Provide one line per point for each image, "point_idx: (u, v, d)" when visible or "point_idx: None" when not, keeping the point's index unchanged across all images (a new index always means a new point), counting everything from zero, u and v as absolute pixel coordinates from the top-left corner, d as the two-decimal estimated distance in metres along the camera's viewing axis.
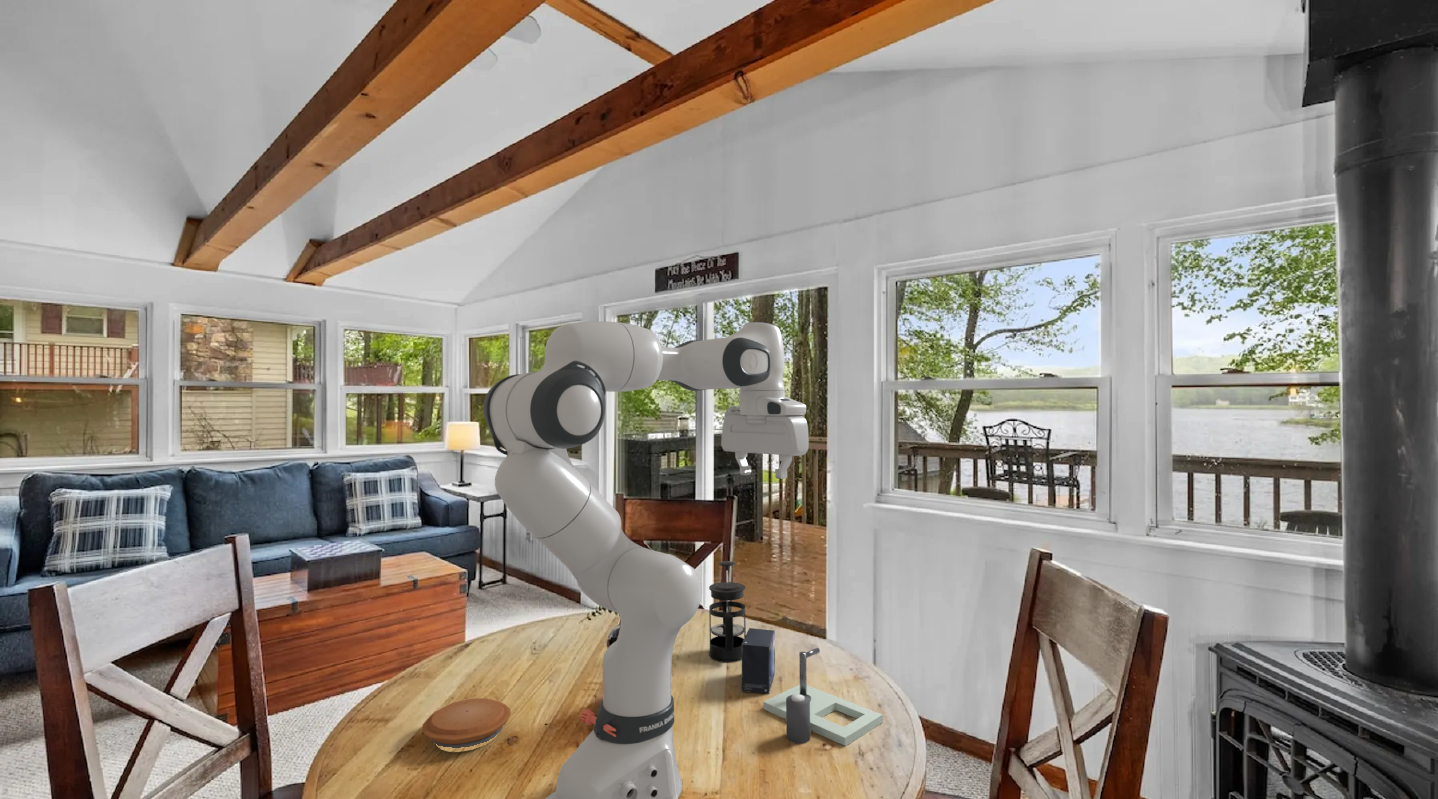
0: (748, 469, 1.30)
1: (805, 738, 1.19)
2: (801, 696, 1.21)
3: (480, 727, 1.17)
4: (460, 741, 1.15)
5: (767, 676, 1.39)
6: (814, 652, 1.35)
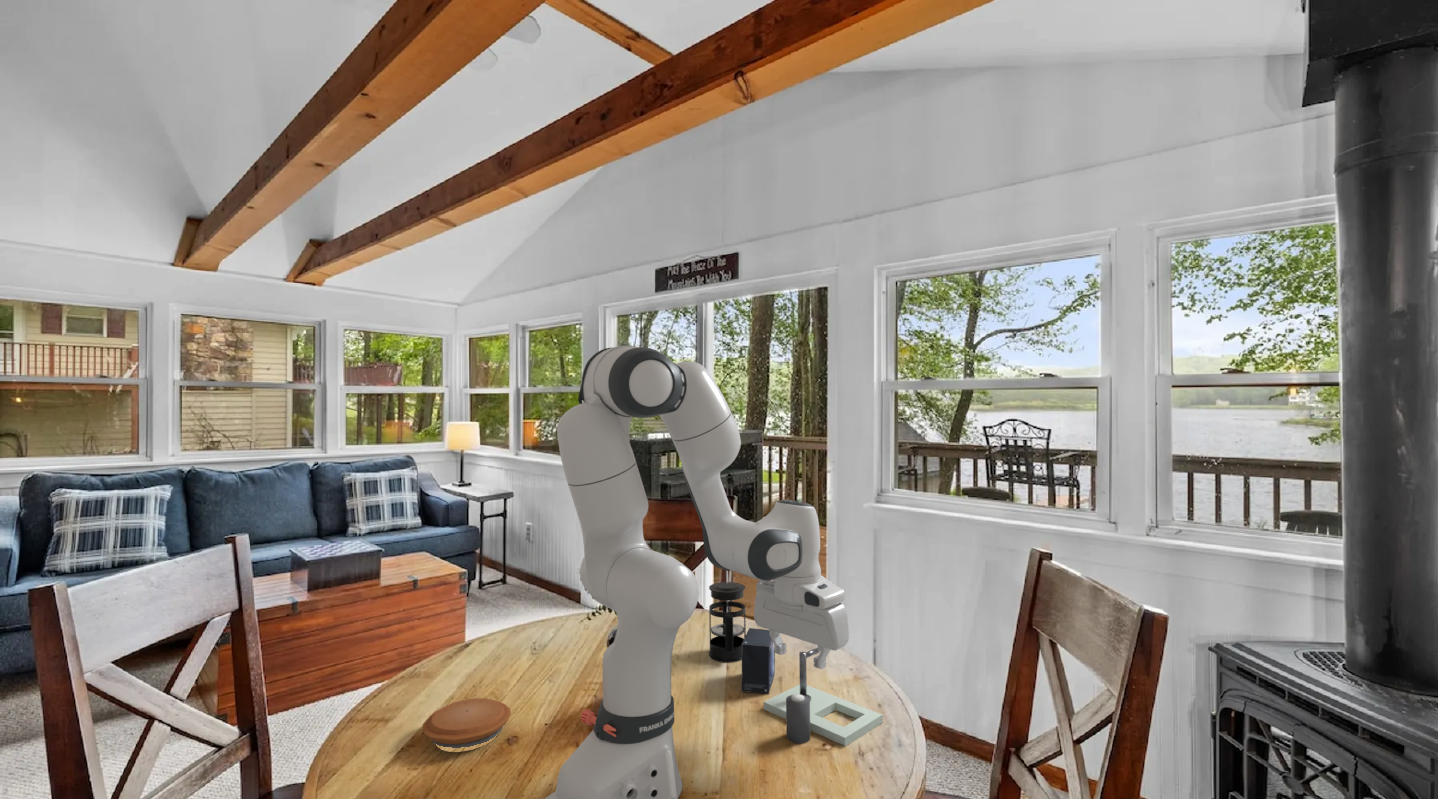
0: (783, 648, 1.24)
1: (805, 738, 1.19)
2: (801, 696, 1.21)
3: (480, 727, 1.17)
4: (460, 741, 1.15)
5: (767, 676, 1.39)
6: (814, 652, 1.35)
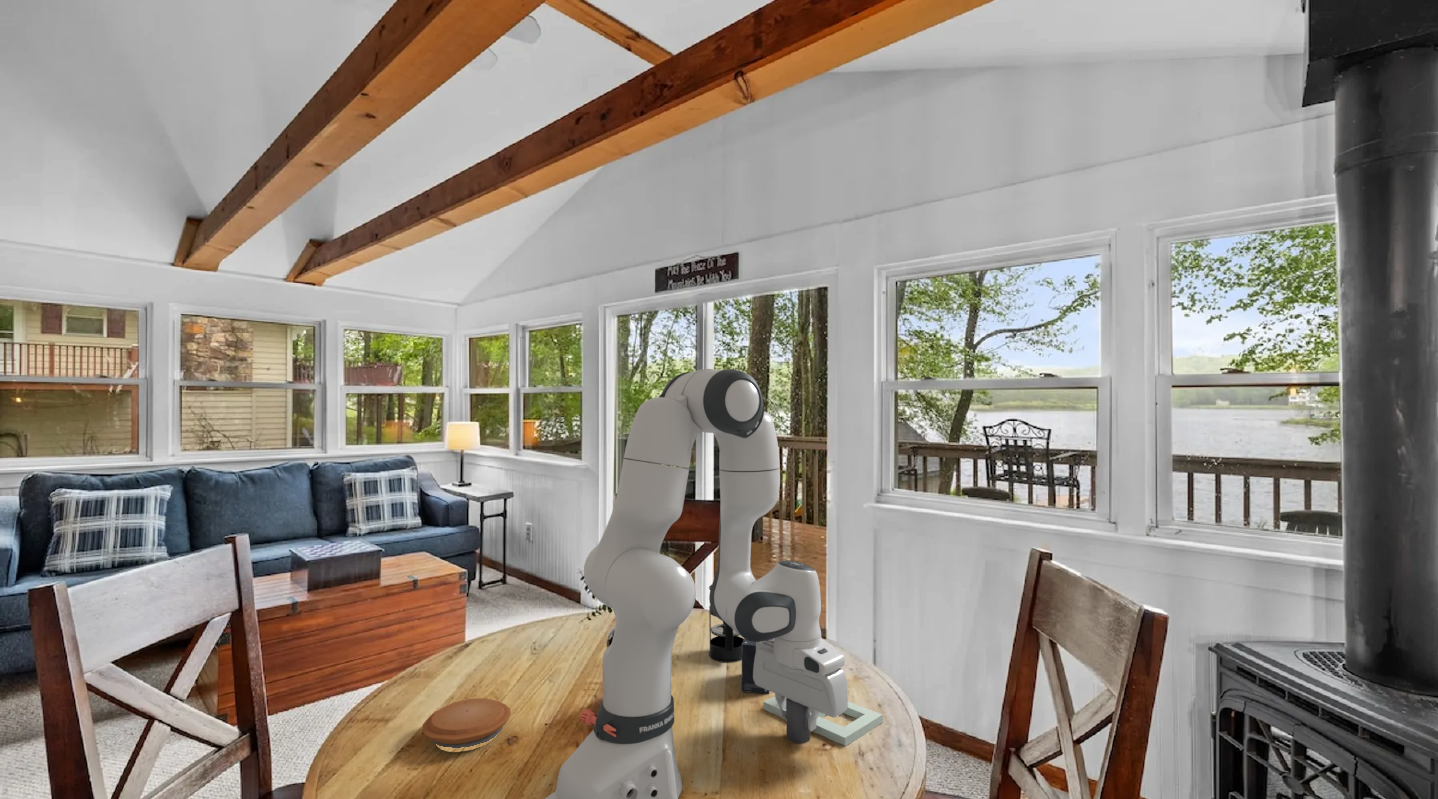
0: None
1: (805, 738, 1.19)
2: None
3: (480, 727, 1.17)
4: (460, 741, 1.15)
5: None
6: None
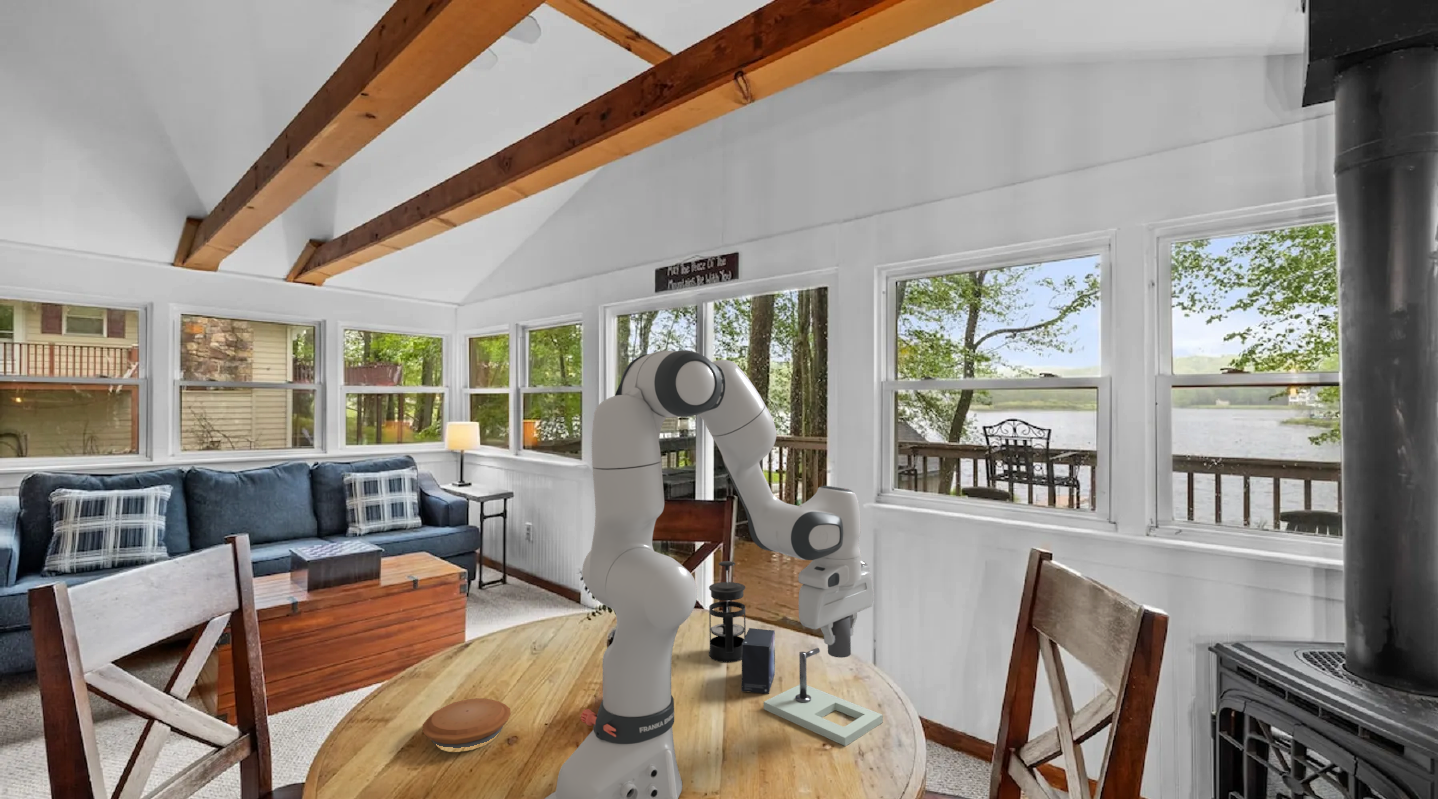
0: None
1: (830, 651, 1.25)
2: None
3: (480, 727, 1.17)
4: (460, 741, 1.15)
5: (767, 676, 1.39)
6: (814, 652, 1.35)
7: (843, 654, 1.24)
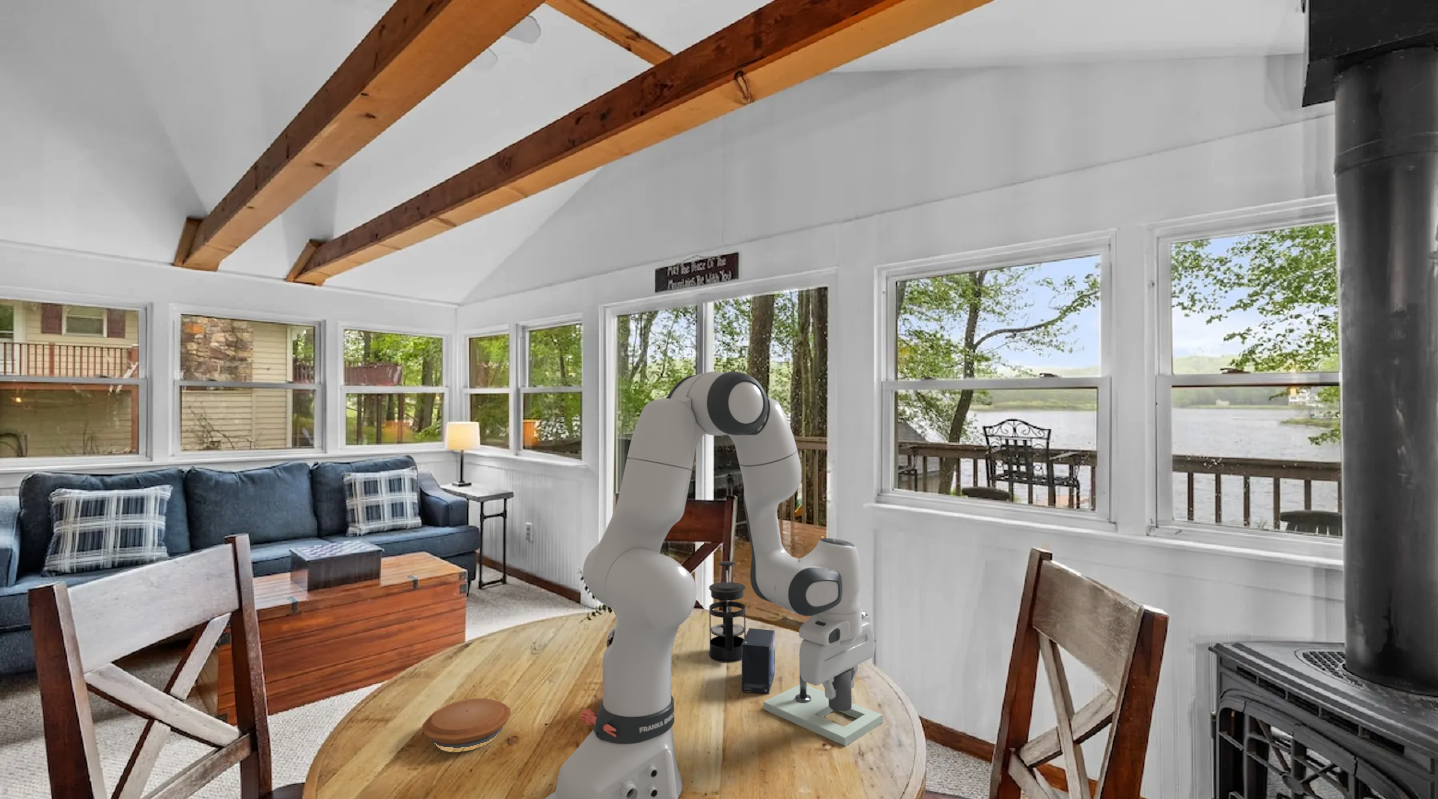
0: None
1: (831, 704, 1.25)
2: None
3: (480, 727, 1.17)
4: (460, 741, 1.15)
5: (767, 676, 1.39)
6: None
7: (844, 708, 1.24)
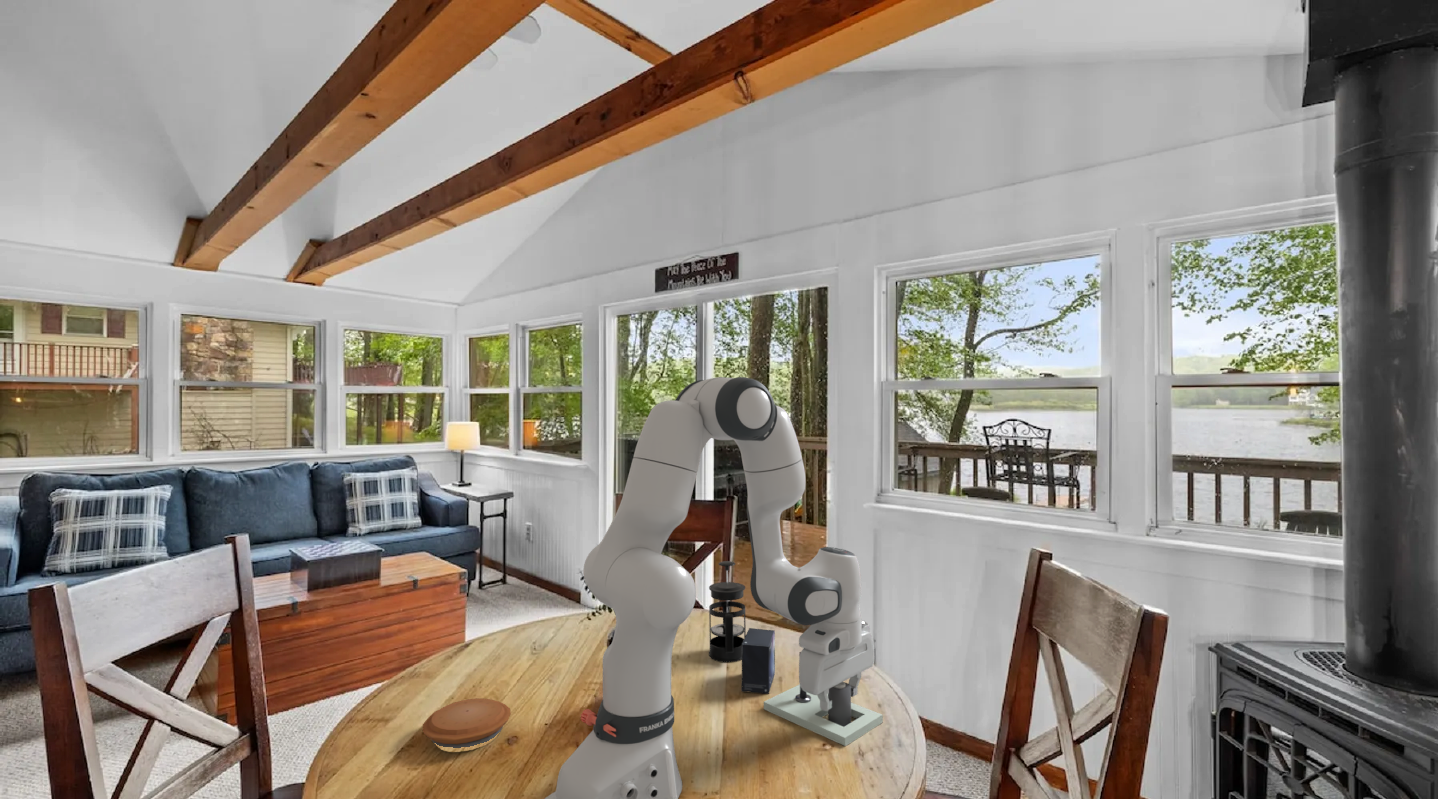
0: (851, 691, 1.28)
1: (830, 720, 1.25)
2: (841, 685, 1.25)
3: (480, 727, 1.17)
4: (460, 741, 1.15)
5: (767, 676, 1.39)
6: None
7: (843, 724, 1.24)
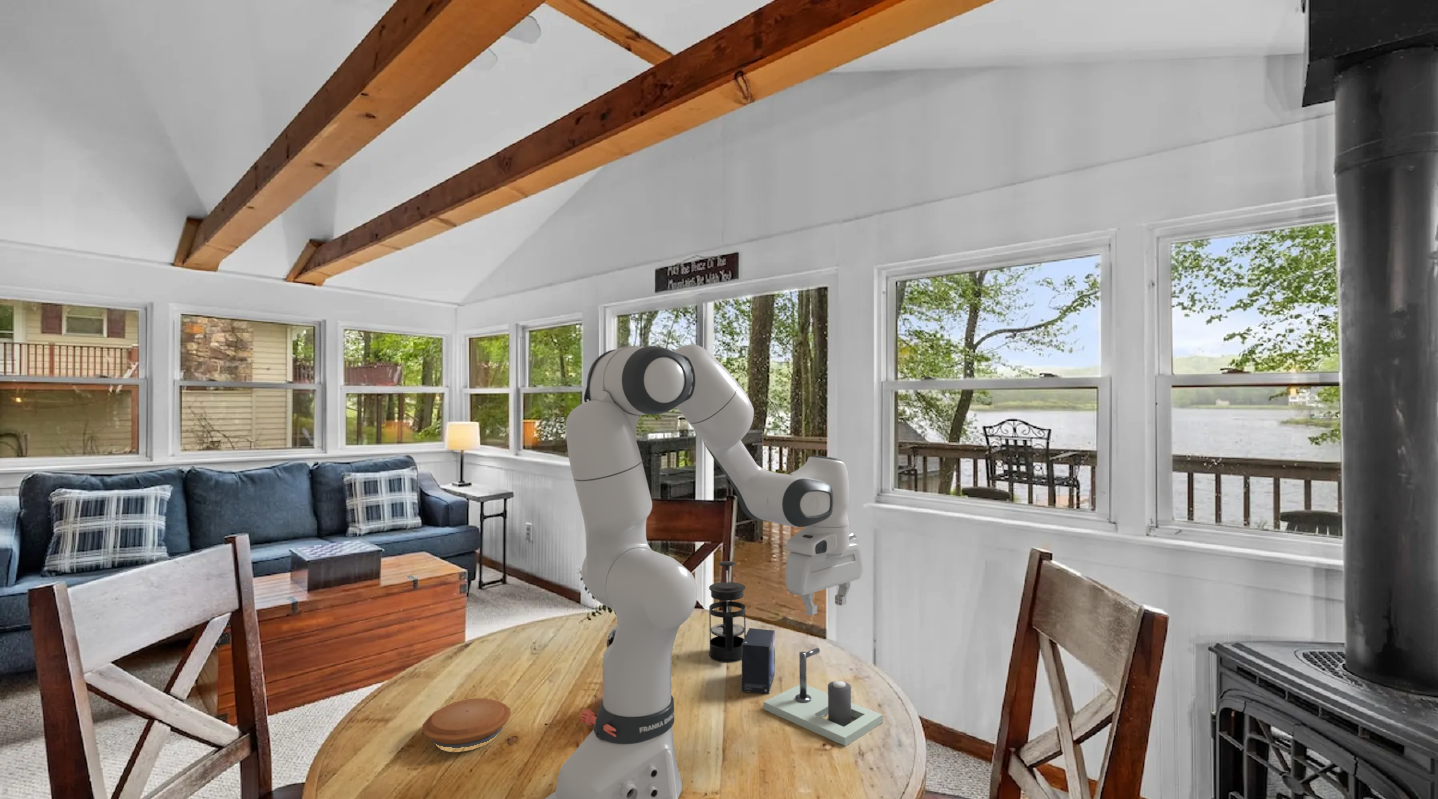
0: (840, 600, 1.29)
1: (830, 720, 1.25)
2: (841, 685, 1.25)
3: (480, 727, 1.17)
4: (460, 741, 1.15)
5: (767, 676, 1.39)
6: (814, 652, 1.35)
7: (843, 724, 1.24)
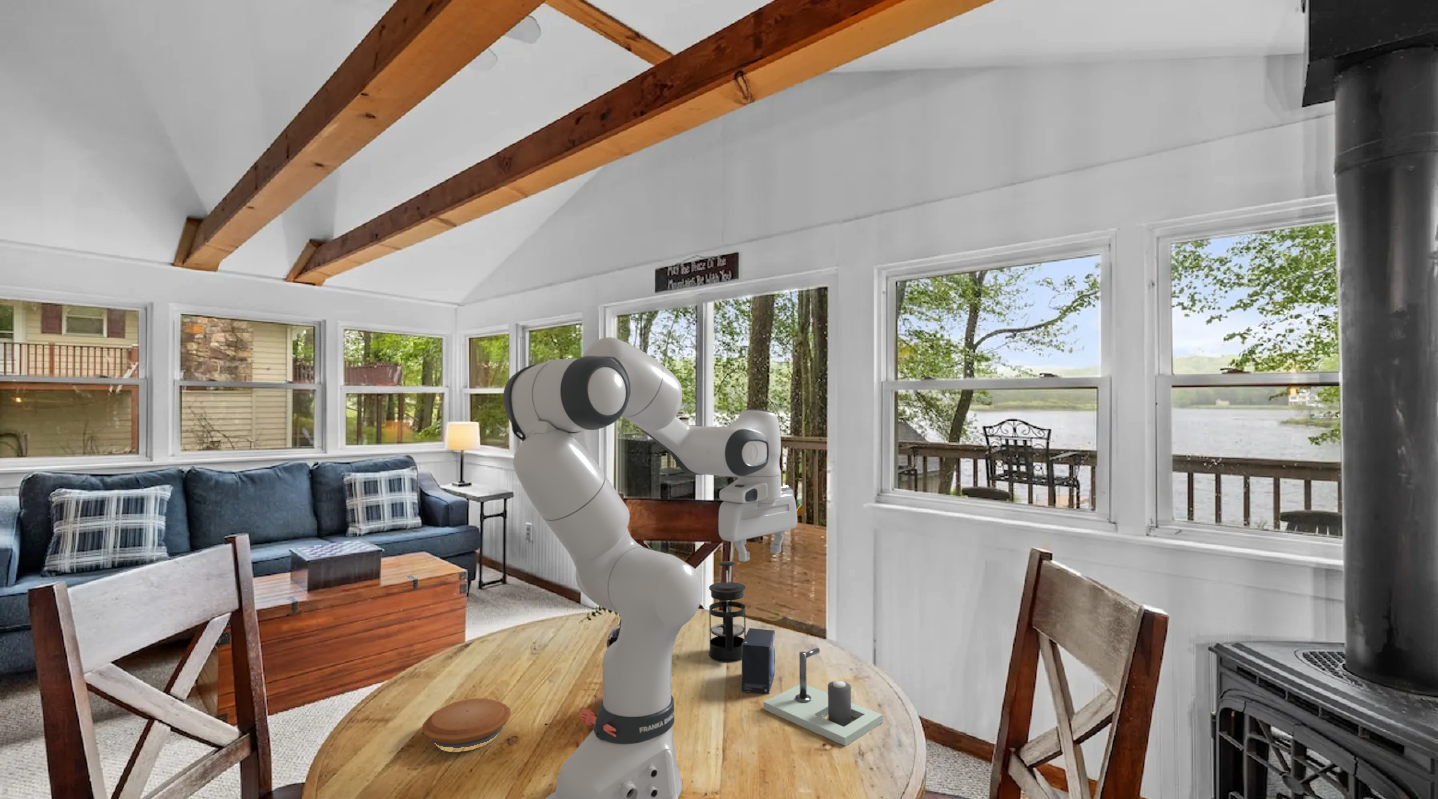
0: (775, 548, 1.34)
1: (830, 720, 1.25)
2: (841, 685, 1.25)
3: (480, 727, 1.17)
4: (460, 741, 1.15)
5: (767, 676, 1.39)
6: (814, 652, 1.35)
7: (843, 724, 1.24)
